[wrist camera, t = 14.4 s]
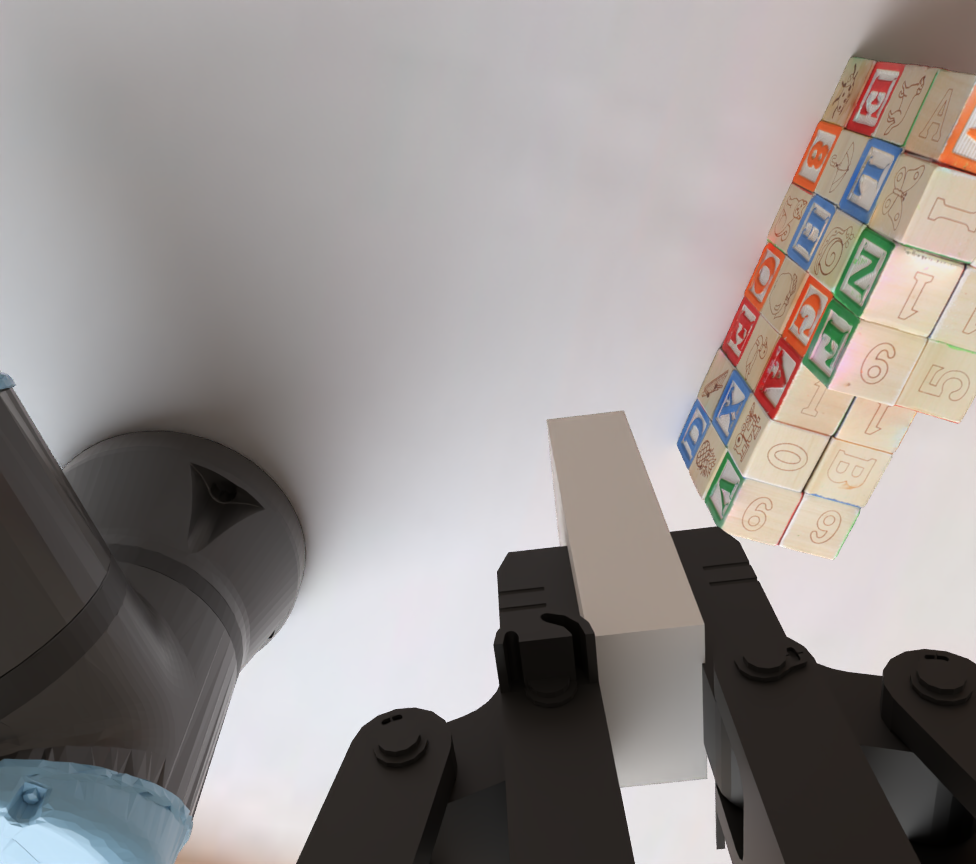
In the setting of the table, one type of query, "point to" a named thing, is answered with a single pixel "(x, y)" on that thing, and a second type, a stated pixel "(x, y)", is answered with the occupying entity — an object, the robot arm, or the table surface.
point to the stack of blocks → (847, 314)
